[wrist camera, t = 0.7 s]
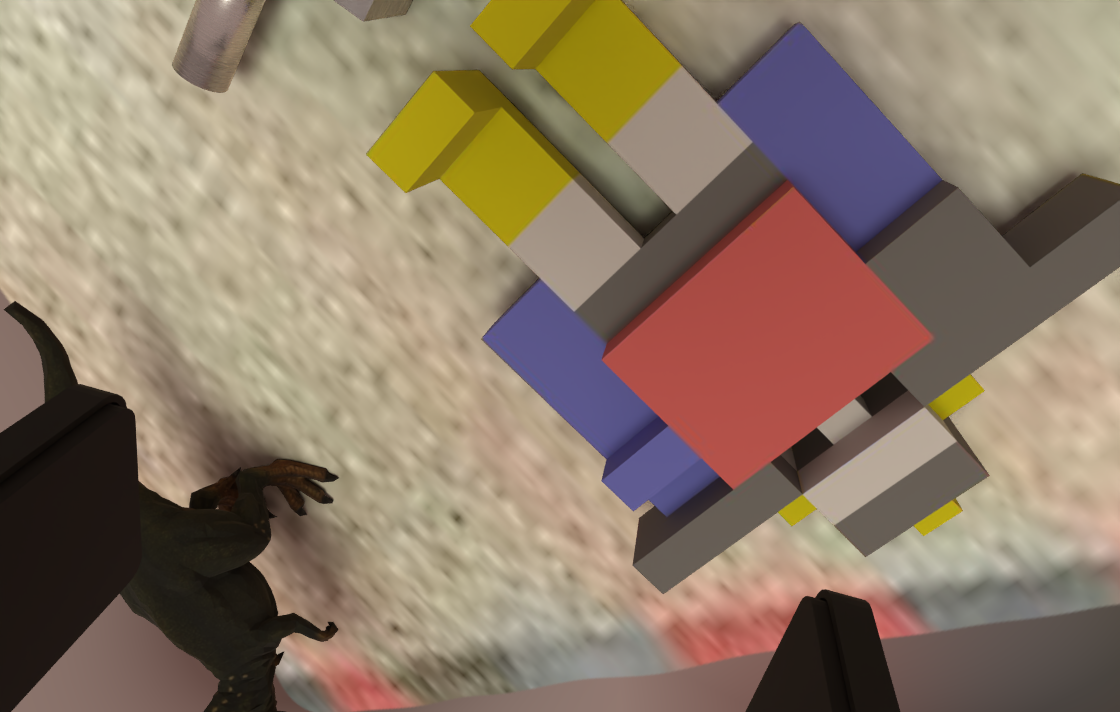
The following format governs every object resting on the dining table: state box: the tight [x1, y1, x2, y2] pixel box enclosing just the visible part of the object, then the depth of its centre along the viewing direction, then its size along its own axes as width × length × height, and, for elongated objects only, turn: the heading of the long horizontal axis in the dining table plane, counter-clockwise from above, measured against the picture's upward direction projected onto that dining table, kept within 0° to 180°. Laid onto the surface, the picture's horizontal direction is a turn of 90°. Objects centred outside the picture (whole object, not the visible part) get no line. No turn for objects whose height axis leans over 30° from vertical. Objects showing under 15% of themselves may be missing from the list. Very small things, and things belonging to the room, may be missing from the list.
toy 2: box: [366, 0, 1120, 594], centre depth 34 cm, size 26×9×30 cm
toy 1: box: [4, 301, 338, 712], centre depth 41 cm, size 9×28×15 cm, turn 24°
